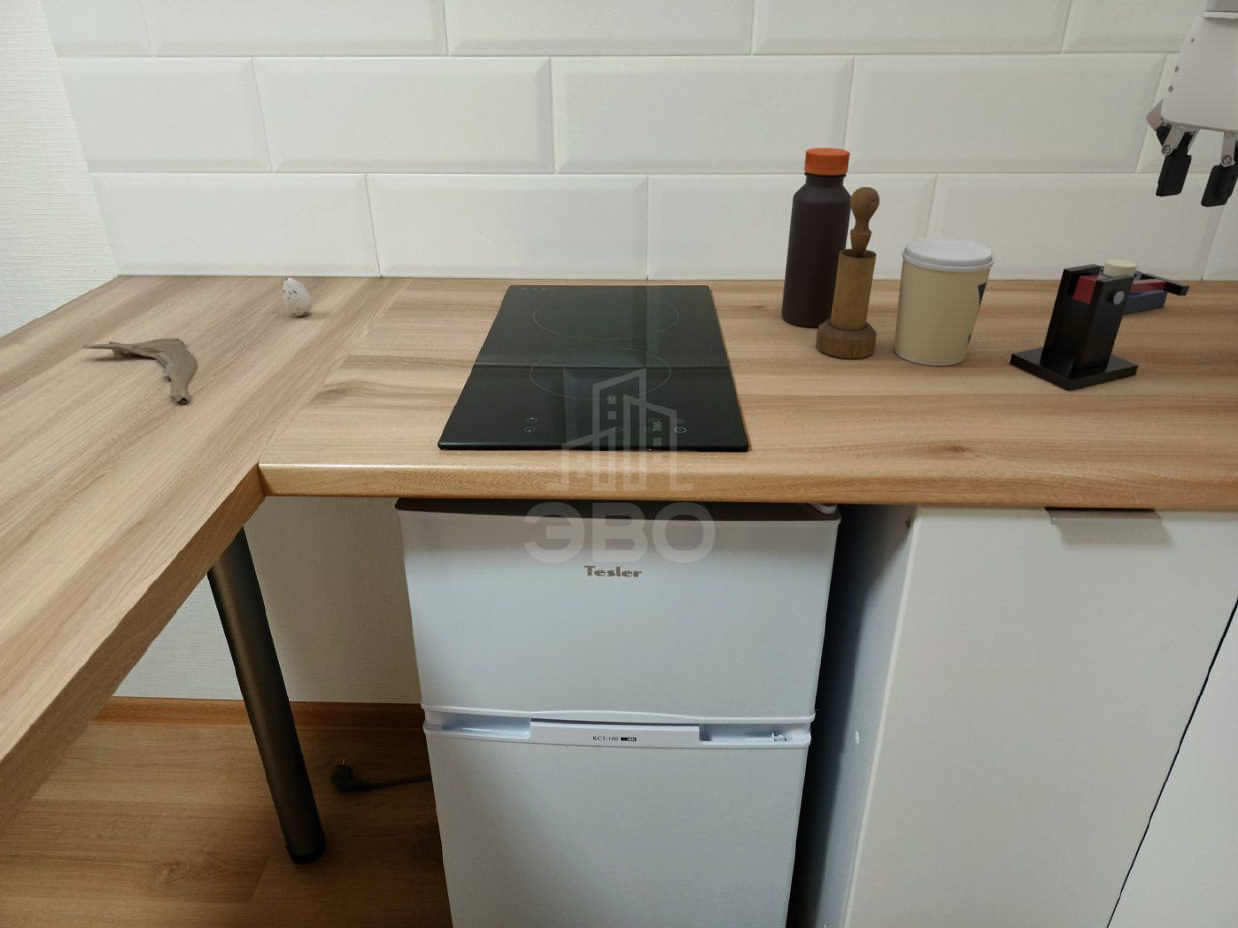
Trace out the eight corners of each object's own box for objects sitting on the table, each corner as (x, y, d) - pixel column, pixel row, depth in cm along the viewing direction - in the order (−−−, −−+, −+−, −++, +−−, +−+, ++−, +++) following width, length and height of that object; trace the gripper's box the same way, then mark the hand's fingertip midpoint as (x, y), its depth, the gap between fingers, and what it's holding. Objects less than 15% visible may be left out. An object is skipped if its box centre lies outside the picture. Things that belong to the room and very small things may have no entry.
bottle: (812, 332, 103) (833, 159, 94) (769, 317, 108) (785, 150, 98) (847, 319, 107) (870, 152, 97) (804, 306, 112) (822, 144, 102)
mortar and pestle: (881, 345, 100) (906, 186, 91) (864, 363, 95) (890, 197, 86) (825, 334, 103) (845, 179, 94) (807, 352, 98) (826, 190, 89)
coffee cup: (986, 368, 94) (1011, 260, 88) (902, 370, 94) (922, 261, 88) (953, 337, 102) (973, 236, 96) (875, 338, 102) (891, 237, 96)
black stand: (1074, 349, 99) (1100, 257, 93) (1135, 375, 92) (1167, 277, 87) (1008, 363, 95) (1032, 268, 90) (1068, 391, 89) (1097, 290, 84)
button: (1115, 270, 113) (1119, 257, 113) (1139, 278, 111) (1143, 264, 110) (1096, 273, 112) (1099, 260, 111) (1120, 281, 109) (1124, 268, 108)
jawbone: (163, 342, 102) (160, 325, 102) (263, 388, 92) (261, 369, 91) (83, 359, 96) (79, 342, 95) (181, 411, 85) (178, 392, 84)
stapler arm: (1142, 288, 96) (1150, 267, 95) (1184, 301, 93) (1192, 279, 91) (1061, 294, 91) (1068, 272, 90) (1101, 308, 87) (1109, 285, 86)
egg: (314, 318, 108) (307, 279, 105) (287, 321, 107) (280, 282, 104) (312, 310, 110) (305, 272, 108) (286, 313, 109) (278, 274, 107)
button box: (1110, 289, 118) (1118, 260, 116) (1163, 306, 112) (1173, 276, 110) (1057, 298, 115) (1065, 269, 113) (1109, 317, 108) (1118, 286, 106)
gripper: (1378, 2, 75) (1296, 214, 84) (1196, -2, 88) (1142, 182, 97) (1325, 3, 72) (1246, 222, 81) (1145, -1, 86) (1095, 187, 95)
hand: (1190, 198), depth 89 cm, fingers open, 4 cm apart
